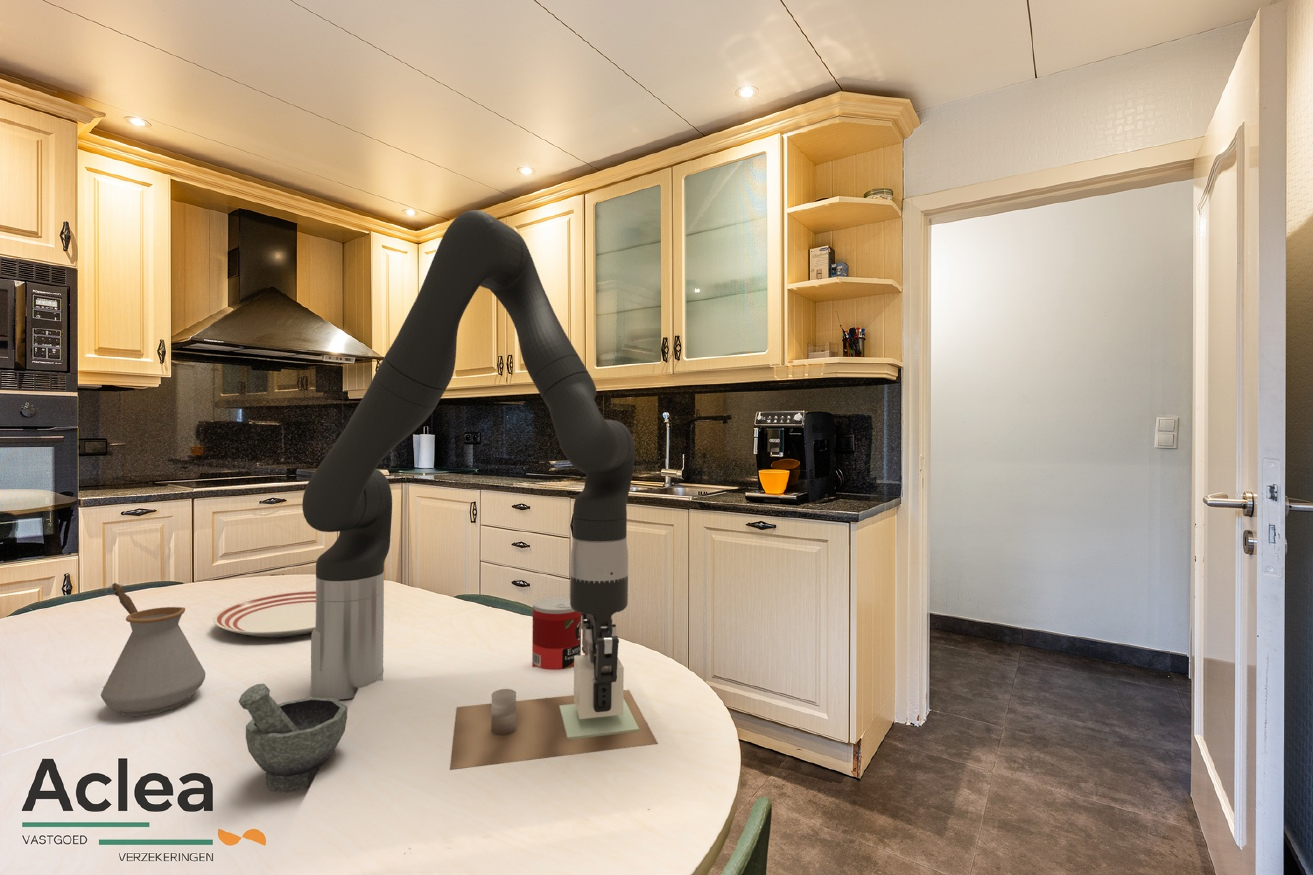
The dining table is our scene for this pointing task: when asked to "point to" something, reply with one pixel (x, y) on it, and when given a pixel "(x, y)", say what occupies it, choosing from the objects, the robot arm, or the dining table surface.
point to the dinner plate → (271, 615)
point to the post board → (529, 731)
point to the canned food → (555, 634)
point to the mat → (596, 723)
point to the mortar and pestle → (291, 736)
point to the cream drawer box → (585, 689)
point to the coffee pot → (152, 663)
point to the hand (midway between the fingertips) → (597, 699)
